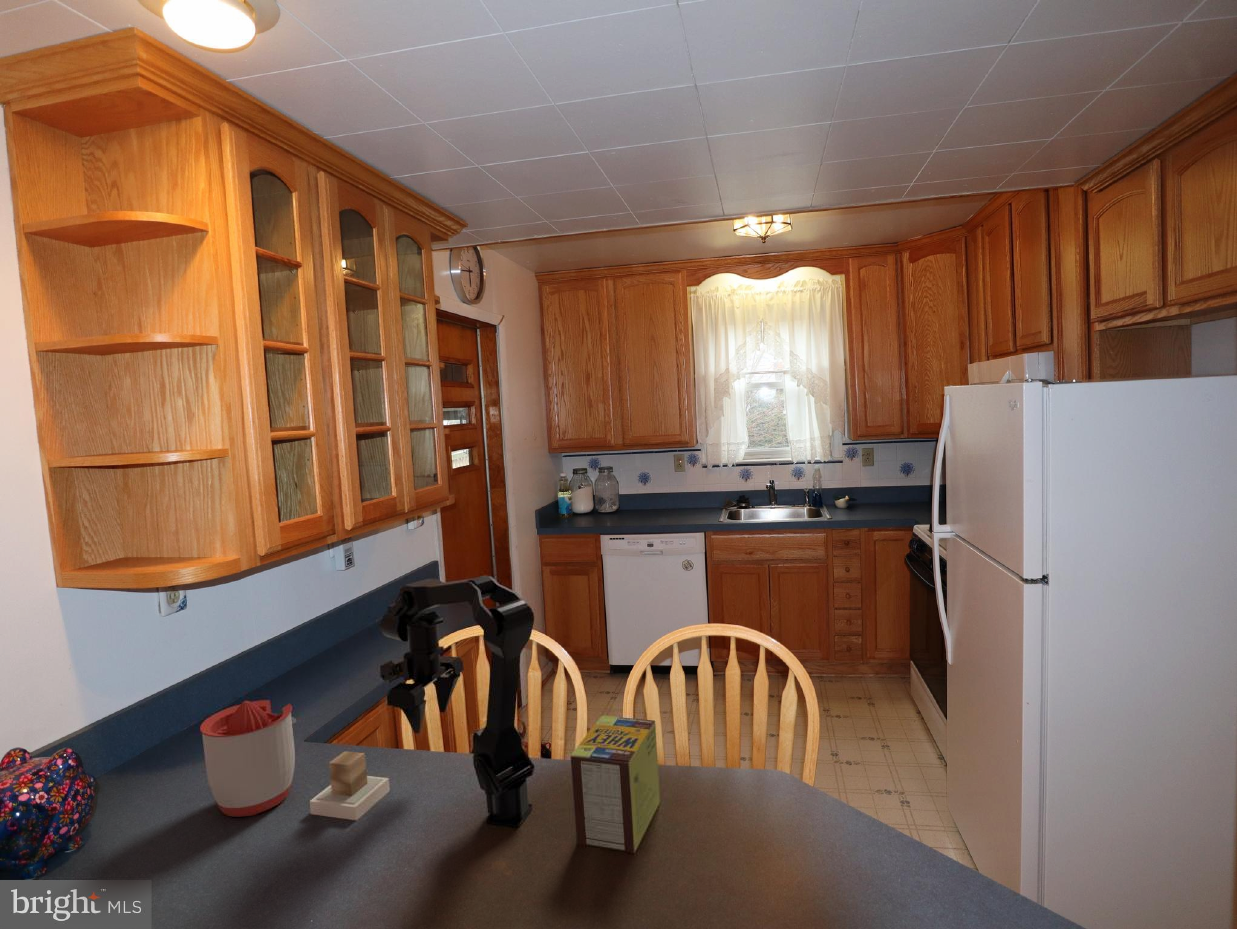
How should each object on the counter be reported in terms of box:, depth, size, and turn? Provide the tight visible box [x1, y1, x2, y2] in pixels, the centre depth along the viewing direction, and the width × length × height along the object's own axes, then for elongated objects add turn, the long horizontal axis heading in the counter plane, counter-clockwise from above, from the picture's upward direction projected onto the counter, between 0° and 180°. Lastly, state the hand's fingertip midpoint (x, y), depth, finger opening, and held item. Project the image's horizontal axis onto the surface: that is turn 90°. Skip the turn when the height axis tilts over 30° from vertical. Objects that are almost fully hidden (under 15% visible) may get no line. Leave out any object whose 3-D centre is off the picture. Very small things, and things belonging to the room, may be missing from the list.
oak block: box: [328, 750, 368, 796], centre depth 134 cm, size 4×4×6 cm
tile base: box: [309, 775, 391, 821], centre depth 134 cm, size 10×10×3 cm
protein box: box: [570, 715, 661, 854], centre depth 122 cm, size 10×15×16 cm
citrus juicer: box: [199, 699, 297, 818], centre depth 136 cm, size 16×17×20 cm
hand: (430, 722), depth 139 cm, fingers open, 9 cm apart
